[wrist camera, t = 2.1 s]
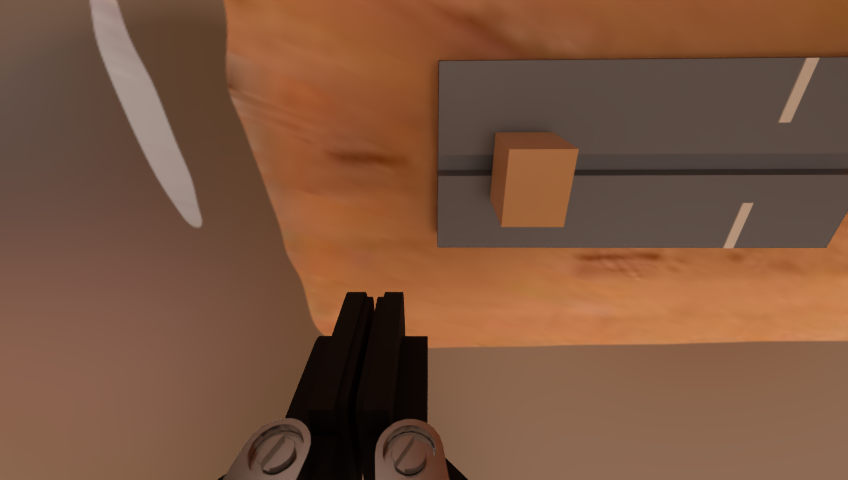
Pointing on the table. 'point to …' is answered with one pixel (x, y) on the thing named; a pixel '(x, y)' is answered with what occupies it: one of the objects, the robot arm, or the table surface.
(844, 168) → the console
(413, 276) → the table surface
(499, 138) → the slider tab
